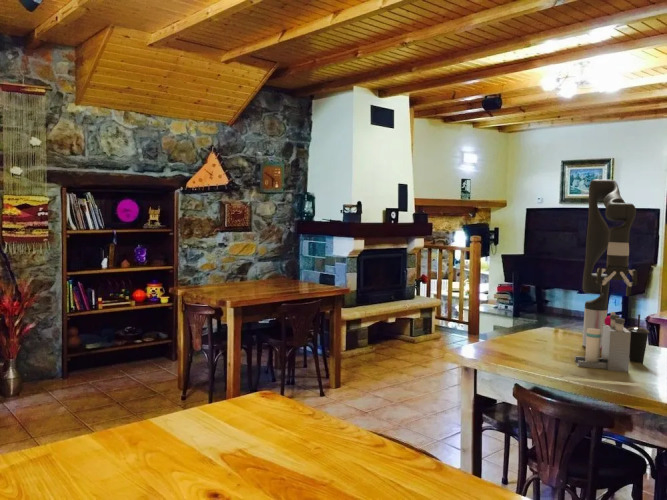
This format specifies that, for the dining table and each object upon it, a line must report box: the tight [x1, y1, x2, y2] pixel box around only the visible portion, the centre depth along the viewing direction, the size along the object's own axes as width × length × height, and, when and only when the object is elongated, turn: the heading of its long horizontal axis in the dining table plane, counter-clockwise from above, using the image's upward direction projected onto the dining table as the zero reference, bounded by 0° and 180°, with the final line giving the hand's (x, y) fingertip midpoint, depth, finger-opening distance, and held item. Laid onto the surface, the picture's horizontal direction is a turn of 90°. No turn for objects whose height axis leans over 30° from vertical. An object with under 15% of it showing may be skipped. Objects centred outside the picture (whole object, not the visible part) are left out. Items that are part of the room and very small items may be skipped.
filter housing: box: [574, 325, 631, 373], centre depth 217 cm, size 12×17×16 cm
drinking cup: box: [627, 314, 650, 365], centre depth 226 cm, size 8×8×20 cm
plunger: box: [609, 314, 620, 327], centre depth 219 cm, size 3×3×6 cm
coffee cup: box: [584, 328, 601, 362], centre depth 218 cm, size 5×5×14 cm
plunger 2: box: [615, 317, 626, 332], centre depth 211 cm, size 3×3×6 cm
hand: (615, 295), depth 220 cm, fingers open, 8 cm apart
